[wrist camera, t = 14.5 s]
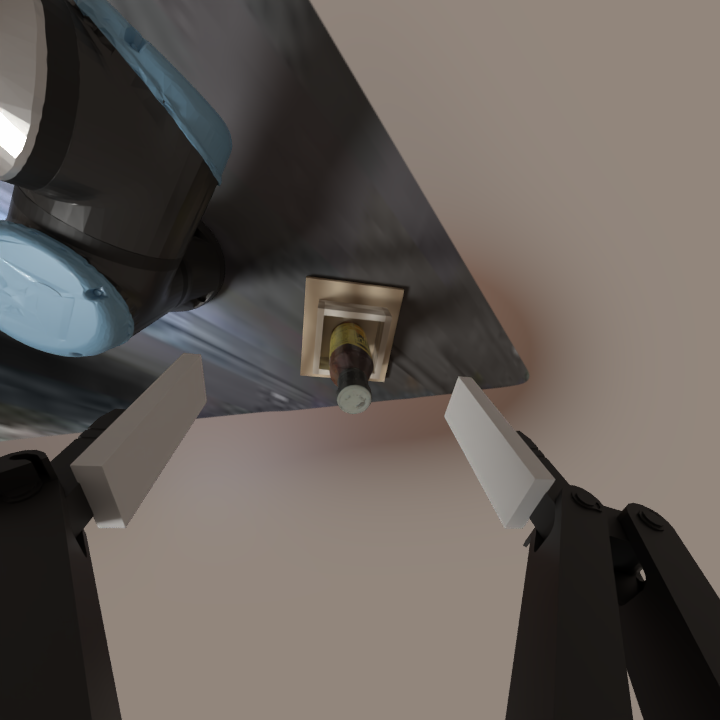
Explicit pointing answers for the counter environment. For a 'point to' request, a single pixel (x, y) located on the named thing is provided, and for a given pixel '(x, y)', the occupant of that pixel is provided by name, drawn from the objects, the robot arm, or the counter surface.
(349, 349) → the sauce bottle
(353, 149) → the counter surface
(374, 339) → the caddy board
